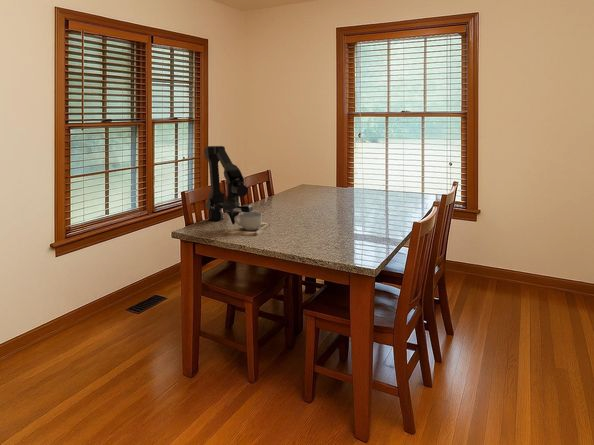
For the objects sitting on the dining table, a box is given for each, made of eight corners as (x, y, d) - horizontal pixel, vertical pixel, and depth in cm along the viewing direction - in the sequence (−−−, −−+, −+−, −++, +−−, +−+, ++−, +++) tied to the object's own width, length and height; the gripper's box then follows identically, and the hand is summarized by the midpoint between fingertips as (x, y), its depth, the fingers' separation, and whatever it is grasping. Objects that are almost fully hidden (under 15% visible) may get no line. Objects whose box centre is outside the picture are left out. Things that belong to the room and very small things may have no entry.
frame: (225, 233, 220) (224, 230, 220) (240, 223, 240) (240, 221, 239) (256, 235, 217) (256, 233, 216) (269, 225, 236) (269, 223, 235)
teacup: (259, 225, 235) (259, 210, 234) (264, 230, 225) (263, 215, 223) (232, 227, 232) (232, 212, 230) (235, 232, 222) (235, 216, 220)
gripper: (208, 195, 221) (209, 226, 224) (244, 197, 216) (245, 229, 220) (218, 191, 231) (218, 221, 235) (252, 193, 227) (253, 224, 230)
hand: (233, 224), depth 230 cm, fingers closed
